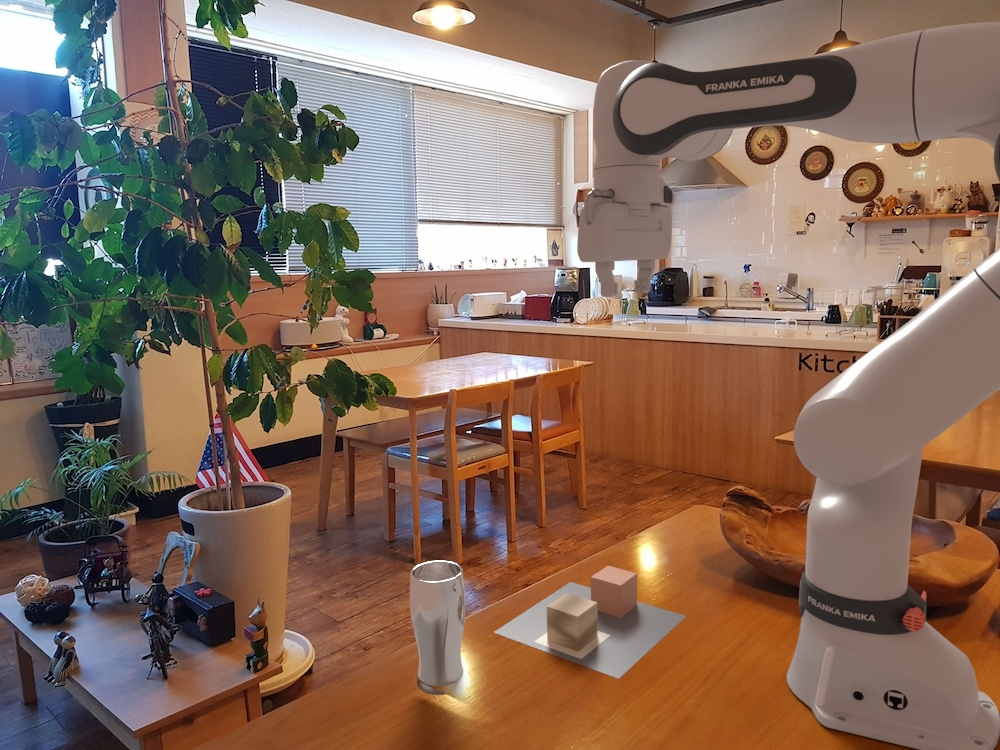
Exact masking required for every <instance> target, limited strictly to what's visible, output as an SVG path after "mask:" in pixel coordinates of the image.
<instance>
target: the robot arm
mask: <svg viewBox="0 0 1000 750" xmlns="http://www.w3.org/2000/svg"><path fill="white" fill-rule="evenodd" d="M592 115H593V116H592V122H593V123H592V124H593V125H592V127H593V128H592V135H593V136H592V137H593V141H594V145H595V151H596V152H595V153H596V154H595V160H594V162H593V169H592V170H593V177H592V178H593V182H592V183H593V188H592V189H590V190H589V192H588V193H587V195H586V197H584V202H583V206H582V207H581V209H580V212H579V213H580V214H579V218H578V229H577V245H576V246H577V248H576V251H577V256H578V258H579V260H580V262H582V263H595V264H594V265H595V266H594V269H595V270H594V271H595V274H596V276H597V278H598V282H599V284H600V296H601V297H602V298H611V297H617V296H618V294H619V293H618V288H619V284H618V283H619V282H615V277H614V273H613V271H615V269H616V268H615V265H616V263H615V262H623V261H624V262H626V261H629V262H630V261H637V262H636V267H637V268H638V273H637V278H636V280H635V279H634V281H633V282H634V284H633V285H634V289H633V290H634V292H635V293H636V294H647V293H649V292H650V291H651V280H652V278H653V275H654V272H655V268H656V260H665V259H667V258H668V257H669V254H670V251H671V249H672V248H671V247H672V233H673V232H672V231H673V214H672V210H671V208H670V207H671V206H674V205H675V197H676V196H675V190H674V189H672V188H671V186H669V185H668V184H667V183H666V182H665V180H664V179H663V177H662V176H661V162H662V160H663V159H665V158H669V159H678V160H681V161H683V160H684V161H688V162H689V161H699V160H704V159H707V158H710V157H712V156H715V155H716V154H717V153H719V152H720V151H721V150H722V149H723V148H724V147H725V146H726V144H727V143H728V142H729V139H730V138H731V136H732V134H733V130H739V129H747V128H748V129H749V128H758V127H767V126H769V127H770V126H785V127H792V128H793V127H795V128H801V129H806V130H810V131H811V130H812V131H815V132H818V133H822V134H826V135H829V136H833V137H835V138H838V139H842V140H846V141H851V142H857V143H870V144H907V143H908V144H909V143H910V144H911V143H918V142H919V143H920V142H927V141H929V142H930V141H936V140H945V139H962V138H963V139H976V140H980V141H983V142H984V143H987V144H988V145H990V146H991V147H992V148H993V149H994V151H993V166H994V170H995V174H996V177H997V178H998V181H999V183H1000V21H987V22H986V21H985V22H973V23H970V22H969V23H962V24H953V25H944V26H938V27H932V28H925V29H920V30H915V31H909V32H904V33H900V34H897V35H896V34H895V35H891V36H888V37H883V38H878V39H875V40H871V41H870V40H869V41H868V42H864V43H860V44H856V45H852V46H849V47H844V48H841V49H837V50H831V51H826V52H823V53H818V54H814V55H810V56H806V57H802V58H795V59H790V60H784V61H781V60H780V61H775V62H774V61H773V62H766V63H760V64H753V65H744V66H739V67H738V66H737V67H731V68H724V69H723V68H722V69H717V70H715V69H714V70H708V71H707V70H706V71H690V70H687V69H686V70H685V69H682V68H679V67H676V66H674V65H670V64H668V63H664V62H653V61H651V60H649V59H644V58H643V59H641V58H637V59H631V60H629V59H628V60H625V61H621V62H619V63H618V62H617V63H615V64H614V65H612V66H609V68H607V69H606V70H604V71H602V73H601V74H600V76H599V79H598V81H597V84H596V88H595V94H594V101H593V114H592ZM999 391H1000V247H998V248H997V249H996V250H995V251H994V252H993V253H991V254H990V255H989V256H988V257H986V258H985V259H984V260H983V261H981V262H980V263H979V264H977V265H976V266H975V267H974V268H973V269H971V270H970V271H969V272H968V273H967V274H965V275H964V276H962V278H960V279H959V280H958V281H956V283H954V284H953V285H952V286H950V287H949V288H948V289H947V290H946V291H944V292H943V293H941V295H940V296H938V297H937V298H935V300H933V301H932V302H931V303H929V304H928V305H927V306H926V307H924V308H923V309H922V310H921V311H920V312H919V313H917V314H916V315H915V316H914V317H912V318H911V319H910V320H908V322H906V323H905V324H903V325H902V326H901V327H899V328H898V329H897V330H895V331H894V332H893V333H891V334H889V336H888V337H886V338H885V339H883V340H882V341H881V342H880V343H879V344H877V345H876V346H874V347H873V348H872V349H871V350H869V351H868V352H867V353H865V354H864V355H863V356H862V357H860V358H858V359H857V361H855V362H854V363H853V364H851V366H849V367H848V368H845V370H843V371H842V372H841V373H840V374H838V376H836V377H835V378H834V379H832V380H830V382H828V383H827V384H826V385H824V386H823V387H822V388H820V389H819V391H817V392H815V394H813V395H812V396H811V397H810V398H809V399H808V401H807V402H806V403H805V404H804V406H803V407H802V409H801V411H800V412H799V414H798V417H797V420H796V421H795V425H794V428H793V436H792V438H793V445H794V449H795V453H796V455H797V457H798V459H799V460H800V462H801V464H802V465H803V466H804V468H806V470H807V471H808V472H810V473H811V474H812V475H813V476H815V477H816V479H815V484H814V489H813V493H812V497H811V501H810V504H809V507H808V510H807V520H806V521H807V522H806V523H807V524H806V525H807V526H806V542H805V543H806V546H805V547H806V548H805V551H806V552H805V568H804V569H805V570H804V571H802V572H801V578H800V582H799V594H798V597H799V598H798V605H799V606H798V607H799V616H800V617H801V619H800V626H799V633H798V637H797V643H796V646H795V650H794V653H793V656H792V660H791V663H790V666H789V668H788V670H787V672H786V682H787V685H788V687H789V689H790V690H791V692H792V693H793V694H794V695H795V696H796V697H797V698H798V699H799V700H800V701H802V702H803V703H804V704H805V705H807V706H808V708H810V709H811V711H812V712H813V714H814V716H815V718H816V719H817V721H818V722H819V723H820V724H821V725H822V726H824V727H826V728H829V729H833V730H836V731H837V730H838V731H842V732H845V733H849V734H853V735H858V736H862V737H865V738H870V739H874V740H879V741H883V742H886V743H887V742H888V743H892V744H896V745H899V746H904V747H907V748H912V749H916V750H994V749H995V748H996V747H997V744H998V743H999V739H1000V712H999V709H998V707H997V704H996V703H995V702H994V701H993V699H992V698H991V697H990V695H988V694H987V693H985V692H983V691H981V690H979V688H978V681H977V677H976V674H975V673H976V672H975V670H974V666H973V664H972V662H971V660H970V659H969V657H968V656H967V655H966V654H965V653H964V652H963V651H961V650H960V649H959V648H958V647H956V645H954V644H953V643H951V641H950V640H948V639H947V638H946V637H945V636H943V635H942V634H941V632H939V631H937V629H935V628H934V627H933V626H932V625H931V624H929V623H928V622H927V621H926V620H927V596H928V595H927V592H926V591H925V590H923V591H922V593H921V595H920V594H918V593H917V592H916V590H914V589H913V588H912V587H911V586H910V585H909V583H908V580H909V566H910V551H911V540H912V539H911V537H912V525H913V515H914V511H915V503H916V499H917V492H918V487H919V486H918V485H919V478H920V473H921V465H922V458H923V449H924V447H925V446H926V445H927V444H929V443H931V441H933V440H935V439H936V438H937V437H939V436H940V435H941V434H943V433H944V432H945V431H946V430H948V429H949V428H950V427H952V426H953V425H955V424H956V423H957V422H958V421H959V420H961V419H962V418H964V417H965V416H966V415H968V414H969V413H970V412H972V411H973V410H975V408H977V407H978V406H979V405H981V404H983V402H985V401H986V400H988V399H989V398H990V397H992V396H993V395H994V394H996V393H997V392H999Z"/></svg>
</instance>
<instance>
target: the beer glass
mask: <svg viewBox="0 0 1000 750" xmlns="http://www.w3.org/2000/svg"><path fill="white" fill-rule="evenodd" d="M409 575H410V577H409V578H410V579H409V609H410V617H411V618H410V619H411V624H412V630H413V633H414V637H415V641H416V645H417V651H418V657H419V659H418V660H419V661H418V662H419V663H418V671H417V678H418V680H416V684H417V687H418V688H419V690H421V691H422V692H423V693H425V694H429V695H432V696H445V695H446V693H445V692H443V691H441V690H438V689H436V688H434V687H444V686H449V685H452V684H455V683H456V682H458V681H459V680H460V679H461V678H462V677H463V676H464V667H463V664H462V663H463V662H462V654H461V651H462V640H463V634H464V628H465V619H466V590H465V581H464V572H463V568H462V566H461V565H460V564H458V563H456V562H453V561H449V560H431V561H427V562H422V563H420V564H417V565H416V566H414V567H413V568H411V570H410V573H409ZM431 686H432V687H431Z"/></svg>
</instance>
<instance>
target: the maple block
mask: <svg viewBox="0 0 1000 750" xmlns="http://www.w3.org/2000/svg"><path fill="white" fill-rule="evenodd" d="M597 636H598V619H597V602H595V601H591V600H588V599H585V598H582V597H578V596H575V595H572V594H568V593H566V594H565V595H563V596H562V597H560V598H559V599H557V600H556V601H554V602H553V603H551V604H550V605H548V606H547V641H550V642H553V643H555V644H558V645H561V646H564V647H567V648H569V649H572V650H575V651H580V650H581V649H582V648H583V647H585V646H586V645H587V644H588V643H590V642H591V641H592V640H594V639H595V638H596V637H597Z"/></svg>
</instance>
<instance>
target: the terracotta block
mask: <svg viewBox="0 0 1000 750" xmlns="http://www.w3.org/2000/svg"><path fill="white" fill-rule="evenodd" d="M590 588H591V601H595V602H597V611H600V612H603V613H607V614H610V615H613V616H616V617H619V618H621V617H622V616H624V615H625V614H626V613H628V612H629V611H630V610H631V609H633V608H634V607H635V606H636V605H637V602H638V573H637V572H633V571H630V570H625V569H622V568H618V567H615V566H611V565H606V566H605V567H604V568H602V569H601V570H599V571H598V572H597V573H594V574H592V576H590Z"/></svg>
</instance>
